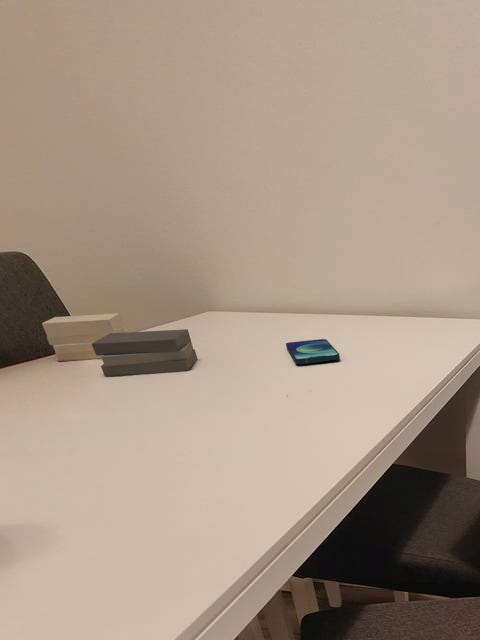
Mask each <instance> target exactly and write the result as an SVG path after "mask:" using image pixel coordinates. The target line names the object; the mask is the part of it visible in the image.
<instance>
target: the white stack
mask: <svg viewBox="0 0 480 640" xmlns="http://www.w3.org/2000/svg"><path fill="white" fill-rule="evenodd" d="M124 332H126V331H125V327H123V328H121V329H120V330H118V331H117V332H115V333H124ZM106 335H108V334H93V335H77V336H60V337H47V336H46V340H47V342H48V344H49V345H50V346H52V348H53V350H54V351H55V353H54V355H55V357H56V359H57V362H69V361H84V360H97V359H102V356H103V355H102V356H96V354H95V352H94V349H93V347H92V343H94V342H95V341H97V340H99V339H101V338H103V337H104V336H106Z"/></svg>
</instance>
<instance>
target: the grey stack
mask: <svg viewBox="0 0 480 640" xmlns="http://www.w3.org/2000/svg"><path fill="white" fill-rule="evenodd" d="M92 347H93V349H94V352H95V354H96V356H102V355H103V356H102V358H101V360H102V363H103V364H102V365H100V368H101V371H102V373H103V376H104V377H106V378H107V377H117V376H120V377H121V376H132V375H133V376H134V375H147V374H163V373H174V372H188V371H189V370H190V369H191V368H192V367H193V365H194V364H195V363H196V361H197V360H198V355H197V353H196V349H195V348H194V346H193V343H192V339H191V337H190V332H189V329H188V328H184V329H167V330H165V329H164V330H147V331H145V330H144V331H127V332H126V331H125V332H124V333H110V334H108V335H106V336H104V337H103V338H101V339H99V340H97V341H95V342H94V343H92Z"/></svg>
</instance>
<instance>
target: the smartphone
mask: <svg viewBox="0 0 480 640" xmlns="http://www.w3.org/2000/svg"><path fill="white" fill-rule="evenodd" d="M285 346H286V350H287V351H288V353H289V355H290V356H291V358H292V360H293V361H294V363H295V364H296V365H308V364H316V363H322V362H331V361H338V360H341V356H340V353H339V352H338V351H337V350H336V348H335V347H334V346H333V345H332V344H331V343H330V342H329V340H328V339H326V338H320V339H309V340H299V341H290V342H289V341H288V342H286V343H285Z"/></svg>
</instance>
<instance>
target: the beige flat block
mask: <svg viewBox="0 0 480 640" xmlns="http://www.w3.org/2000/svg"><path fill="white" fill-rule="evenodd" d="M41 325H42V327H43V330H44V332H45V334H46V338H47V337H60V336H77V335H93V334H110V333H115V332H117V331H118V330H120V329H121V328H125V326H124V322H123V320H122V317H121V314H120V313H103V314H85V315H68V316H67V315H66V316H54V317H52V318H50V319H48V320H46V321H43V322H42V323H41Z"/></svg>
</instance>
